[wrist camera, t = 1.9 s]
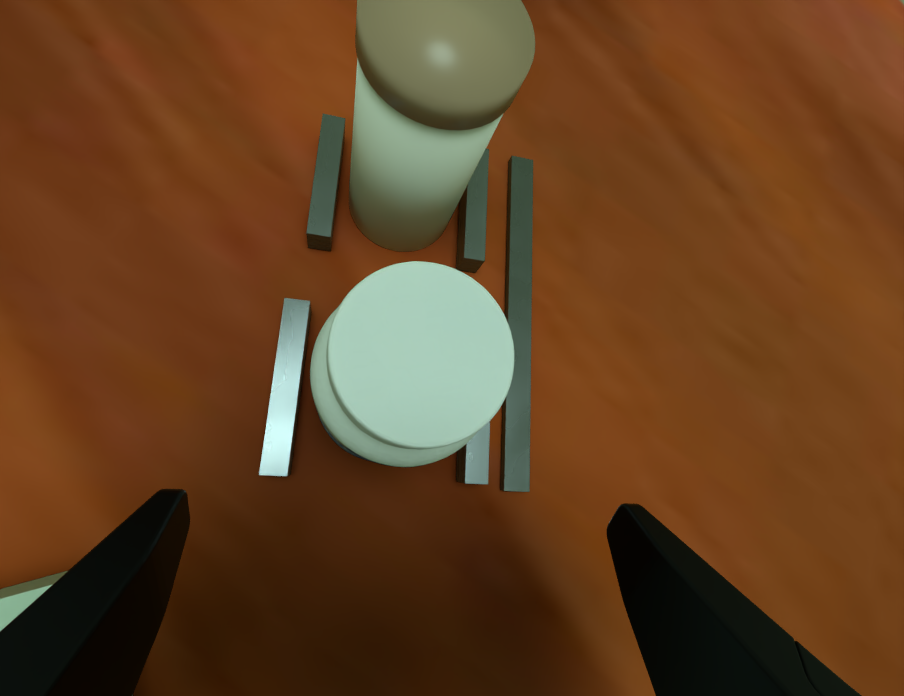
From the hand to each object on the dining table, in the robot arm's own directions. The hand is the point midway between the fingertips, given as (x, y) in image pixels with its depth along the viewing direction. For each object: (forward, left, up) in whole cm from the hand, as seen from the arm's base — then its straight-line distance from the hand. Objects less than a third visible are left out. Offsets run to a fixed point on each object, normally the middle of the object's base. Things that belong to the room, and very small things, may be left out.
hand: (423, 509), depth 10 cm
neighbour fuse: (+13, -4, -11) cm, 17 cm away
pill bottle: (+3, -1, -11) cm, 11 cm away
